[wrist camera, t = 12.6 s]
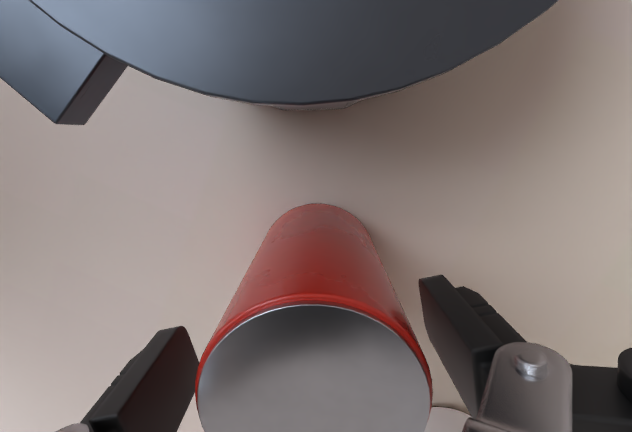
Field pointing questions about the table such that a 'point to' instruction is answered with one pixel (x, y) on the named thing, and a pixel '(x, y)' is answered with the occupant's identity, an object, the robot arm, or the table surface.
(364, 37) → the pot lid
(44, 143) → the table surface
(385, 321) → the tomato can
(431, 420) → the bath foam
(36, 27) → the pot
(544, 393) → the robot arm
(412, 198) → the table surface
